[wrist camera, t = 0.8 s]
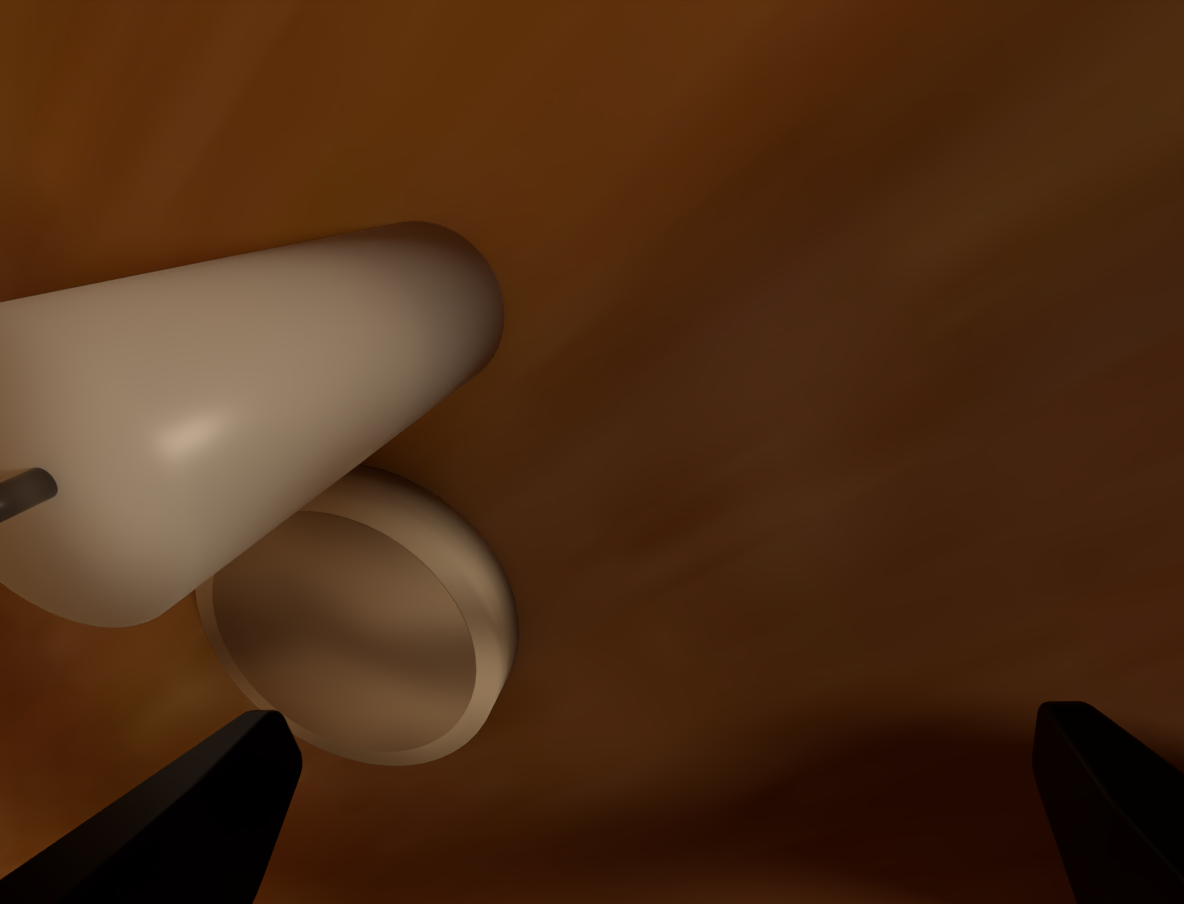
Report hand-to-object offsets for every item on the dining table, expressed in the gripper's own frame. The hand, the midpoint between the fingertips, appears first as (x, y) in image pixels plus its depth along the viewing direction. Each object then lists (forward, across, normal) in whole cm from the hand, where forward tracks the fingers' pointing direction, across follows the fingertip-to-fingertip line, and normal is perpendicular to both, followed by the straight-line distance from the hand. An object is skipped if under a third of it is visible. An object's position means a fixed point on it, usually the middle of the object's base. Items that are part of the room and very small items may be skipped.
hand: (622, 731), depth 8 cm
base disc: (+14, +13, +9) cm, 21 cm away
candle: (+15, +8, -2) cm, 17 cm away
